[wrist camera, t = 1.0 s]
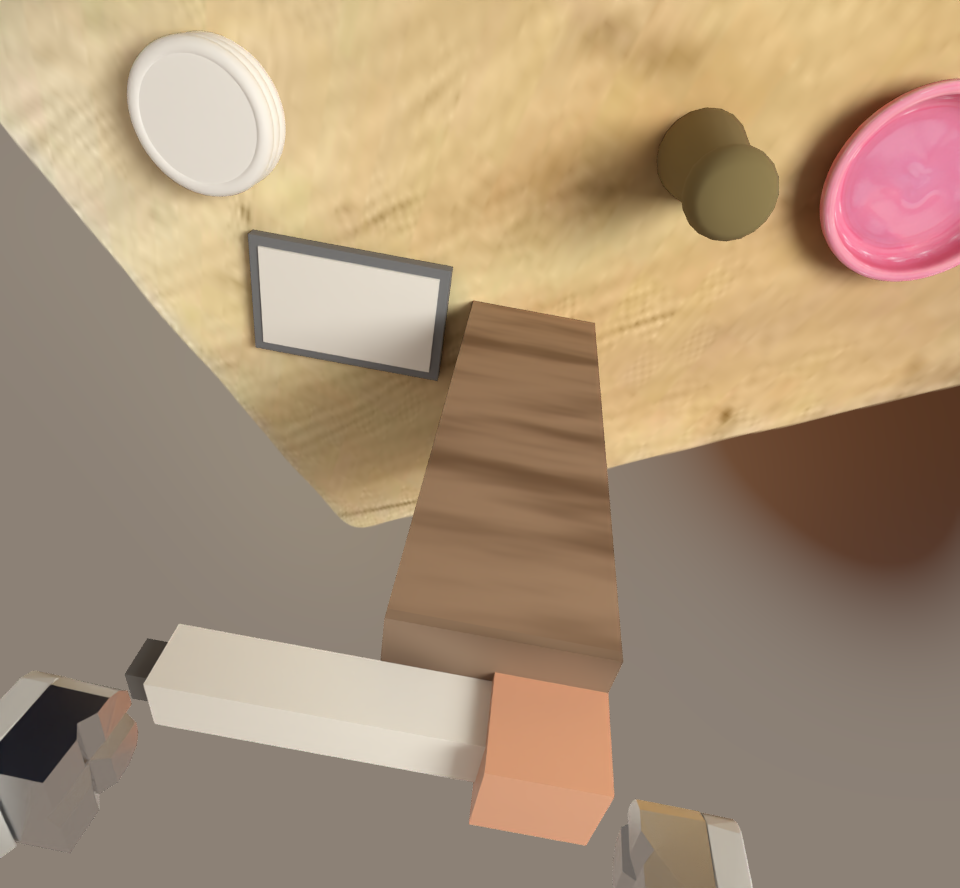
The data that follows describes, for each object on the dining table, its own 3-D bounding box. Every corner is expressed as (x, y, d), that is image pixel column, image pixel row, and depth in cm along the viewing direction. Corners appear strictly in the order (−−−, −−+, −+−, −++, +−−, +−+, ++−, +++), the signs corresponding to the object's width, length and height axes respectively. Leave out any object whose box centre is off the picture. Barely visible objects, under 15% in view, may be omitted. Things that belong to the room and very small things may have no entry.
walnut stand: (473, 300, 52) (384, 617, 27) (594, 323, 52) (623, 661, 27) (459, 393, 58) (373, 732, 32) (569, 413, 58) (572, 768, 32)
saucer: (803, 279, 49) (816, 295, 46) (817, 97, 42) (833, 105, 39) (991, 250, 46) (1016, 267, 44) (1039, 52, 39) (1071, 57, 37)
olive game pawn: (739, 91, 42) (785, 123, 33) (755, 182, 45) (802, 233, 36) (646, 130, 44) (666, 170, 35) (668, 214, 47) (692, 271, 38)
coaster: (124, 45, 44) (94, 50, 41) (257, 16, 42) (235, 19, 40) (187, 195, 50) (164, 208, 47) (307, 175, 48) (290, 187, 45)
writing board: (252, 229, 51) (247, 234, 50) (452, 266, 51) (450, 272, 50) (260, 341, 57) (254, 348, 56) (438, 375, 57) (436, 382, 56)
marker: (149, 608, 28) (89, 700, 24) (608, 692, 28) (614, 797, 24) (164, 667, 31) (111, 758, 27) (583, 744, 31) (585, 845, 27)
